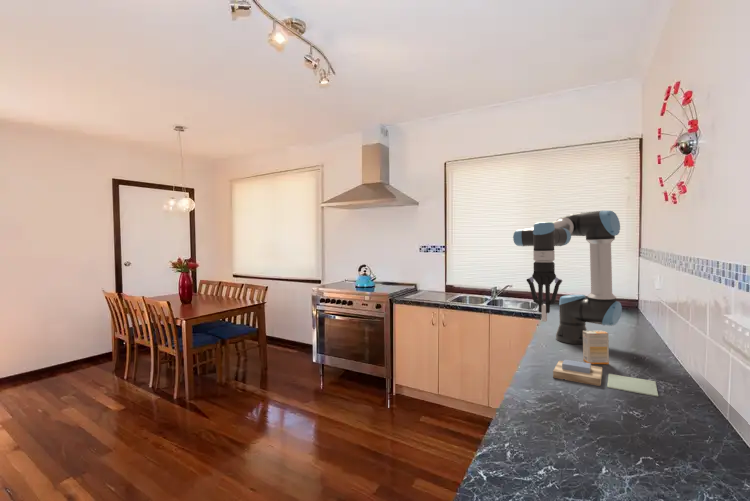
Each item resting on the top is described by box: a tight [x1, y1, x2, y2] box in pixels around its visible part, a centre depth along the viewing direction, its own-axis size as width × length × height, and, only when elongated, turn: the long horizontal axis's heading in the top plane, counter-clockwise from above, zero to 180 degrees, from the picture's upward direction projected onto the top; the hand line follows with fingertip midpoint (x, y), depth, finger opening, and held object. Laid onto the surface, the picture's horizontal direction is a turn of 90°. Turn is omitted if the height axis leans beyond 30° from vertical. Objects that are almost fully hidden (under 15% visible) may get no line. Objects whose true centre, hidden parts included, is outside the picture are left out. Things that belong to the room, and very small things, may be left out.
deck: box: [552, 360, 603, 387], centre depth 136 cm, size 14×15×2 cm
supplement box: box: [582, 330, 610, 365], centre depth 149 cm, size 8×5×13 cm, turn 84°
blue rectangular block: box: [562, 359, 592, 374], centre depth 136 cm, size 9×6×2 cm, turn 55°
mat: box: [606, 373, 659, 398], centre depth 126 cm, size 14×14×1 cm
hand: (544, 320), depth 142 cm, fingers closed
